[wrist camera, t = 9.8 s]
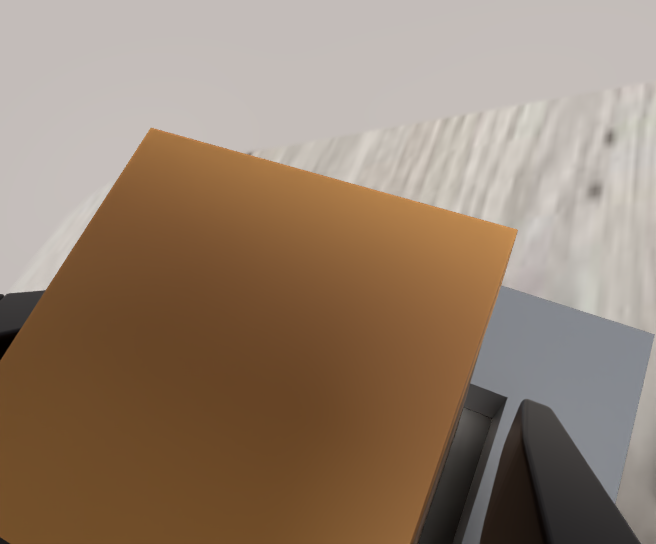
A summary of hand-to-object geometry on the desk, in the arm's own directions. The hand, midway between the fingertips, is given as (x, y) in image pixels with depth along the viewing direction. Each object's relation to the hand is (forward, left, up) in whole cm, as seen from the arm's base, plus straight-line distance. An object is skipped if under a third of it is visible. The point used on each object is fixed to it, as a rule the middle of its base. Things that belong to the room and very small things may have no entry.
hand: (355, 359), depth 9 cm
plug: (-1, +1, -8) cm, 8 cm away
